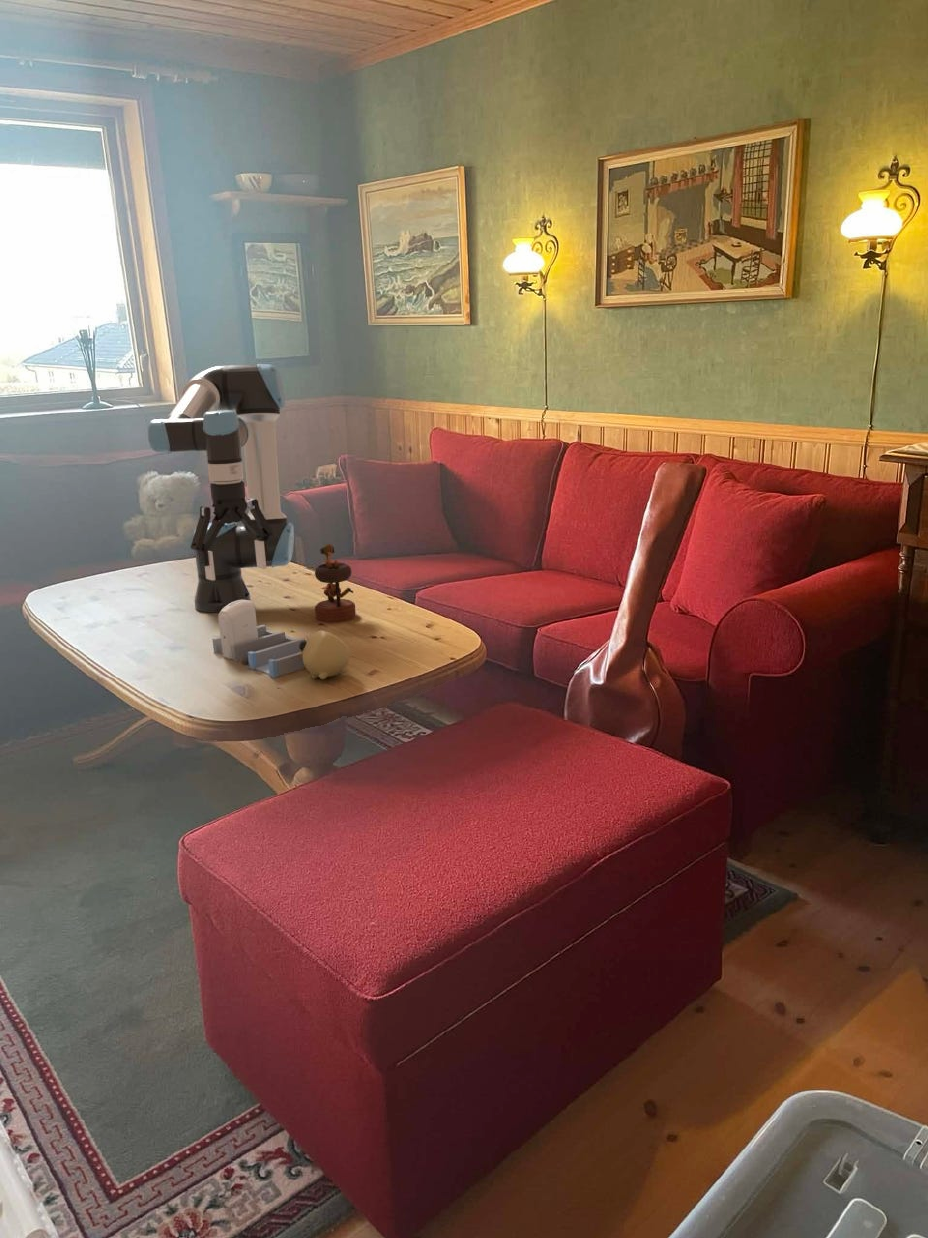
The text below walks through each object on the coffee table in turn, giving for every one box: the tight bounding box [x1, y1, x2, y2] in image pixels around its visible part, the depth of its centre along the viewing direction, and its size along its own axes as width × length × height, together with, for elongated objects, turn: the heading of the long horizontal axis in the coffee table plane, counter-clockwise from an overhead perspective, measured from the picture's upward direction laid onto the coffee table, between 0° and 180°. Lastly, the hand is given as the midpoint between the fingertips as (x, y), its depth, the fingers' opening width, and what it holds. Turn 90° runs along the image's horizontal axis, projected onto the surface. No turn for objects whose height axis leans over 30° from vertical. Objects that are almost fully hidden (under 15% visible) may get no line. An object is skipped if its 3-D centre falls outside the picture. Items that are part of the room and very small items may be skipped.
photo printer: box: [217, 600, 258, 660], centre depth 218 cm, size 10×4×12 cm, turn 156°
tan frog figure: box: [299, 630, 351, 680], centre depth 200 cm, size 10×12×11 cm
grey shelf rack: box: [212, 624, 307, 679], centre depth 216 cm, size 26×16×4 cm, turn 45°
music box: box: [314, 543, 357, 624], centre depth 242 cm, size 15×11×20 cm
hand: (236, 573), depth 215 cm, fingers open, 13 cm apart
